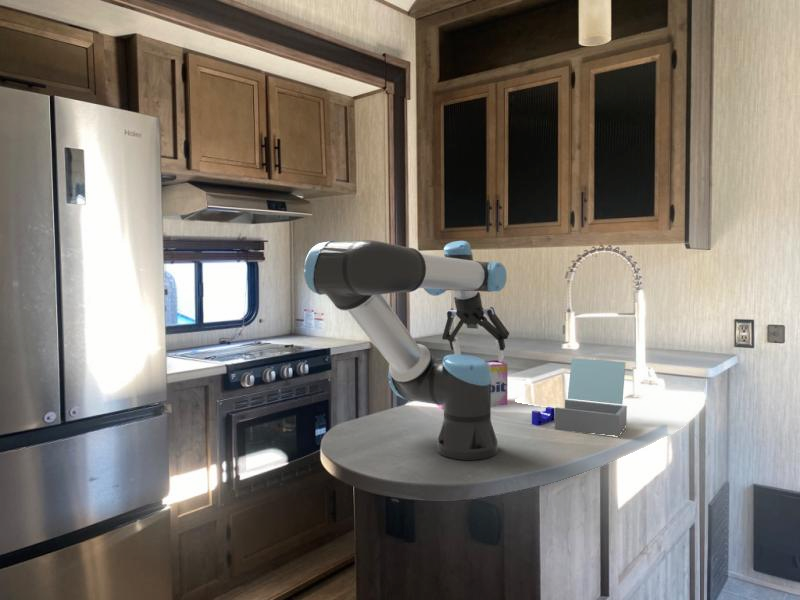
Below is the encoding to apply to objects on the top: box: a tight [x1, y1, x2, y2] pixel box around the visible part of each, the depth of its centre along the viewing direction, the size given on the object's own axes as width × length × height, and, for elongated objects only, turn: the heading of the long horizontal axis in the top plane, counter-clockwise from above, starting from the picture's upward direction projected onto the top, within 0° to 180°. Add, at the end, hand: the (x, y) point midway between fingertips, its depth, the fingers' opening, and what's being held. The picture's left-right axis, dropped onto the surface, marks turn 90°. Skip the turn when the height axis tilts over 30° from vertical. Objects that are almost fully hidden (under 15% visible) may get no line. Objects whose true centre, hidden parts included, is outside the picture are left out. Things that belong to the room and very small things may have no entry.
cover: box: [567, 357, 626, 405], centre depth 175 cm, size 12×15×1 cm
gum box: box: [437, 359, 509, 410], centre depth 197 cm, size 24×8×14 cm, turn 104°
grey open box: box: [554, 398, 628, 436], centre depth 168 cm, size 12×17×6 cm
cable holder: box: [531, 406, 556, 427], centre depth 175 cm, size 8×4×4 cm, turn 129°
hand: (479, 359), depth 180 cm, fingers open, 13 cm apart
